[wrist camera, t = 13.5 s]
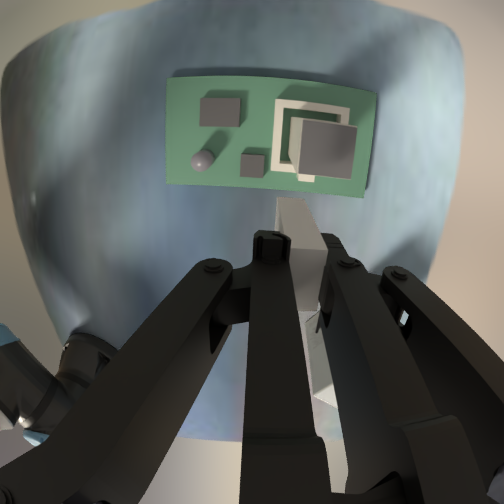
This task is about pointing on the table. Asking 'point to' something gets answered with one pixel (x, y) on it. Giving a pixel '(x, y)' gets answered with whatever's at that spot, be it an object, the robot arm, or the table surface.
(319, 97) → the board
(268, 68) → the table surface
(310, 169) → the plug
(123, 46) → the table surface
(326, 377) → the small box
